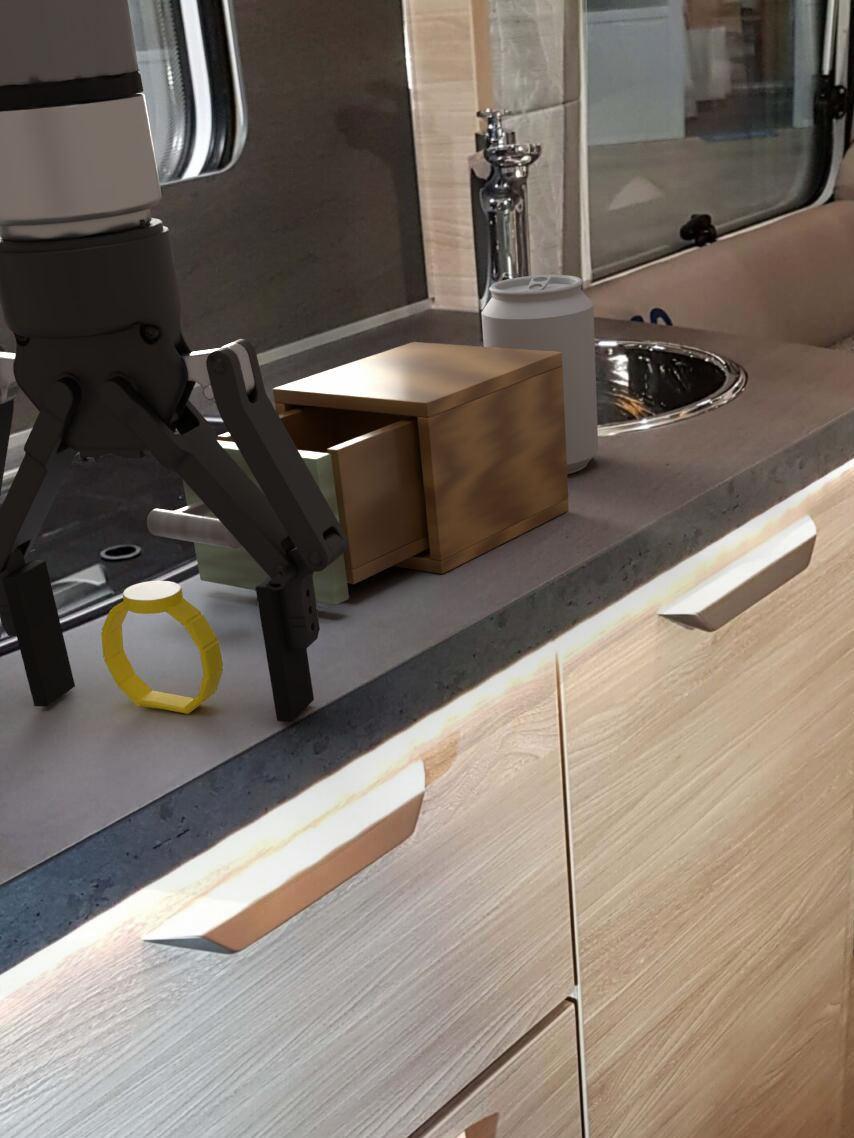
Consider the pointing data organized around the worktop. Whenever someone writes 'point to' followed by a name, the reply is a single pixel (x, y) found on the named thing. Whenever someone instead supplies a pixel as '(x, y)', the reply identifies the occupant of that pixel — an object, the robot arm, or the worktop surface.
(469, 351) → the cabinet
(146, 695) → the watch
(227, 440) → the drawer
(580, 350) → the can
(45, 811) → the worktop surface
